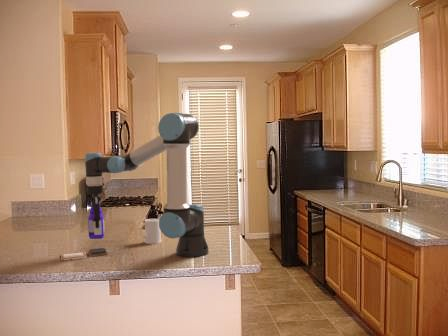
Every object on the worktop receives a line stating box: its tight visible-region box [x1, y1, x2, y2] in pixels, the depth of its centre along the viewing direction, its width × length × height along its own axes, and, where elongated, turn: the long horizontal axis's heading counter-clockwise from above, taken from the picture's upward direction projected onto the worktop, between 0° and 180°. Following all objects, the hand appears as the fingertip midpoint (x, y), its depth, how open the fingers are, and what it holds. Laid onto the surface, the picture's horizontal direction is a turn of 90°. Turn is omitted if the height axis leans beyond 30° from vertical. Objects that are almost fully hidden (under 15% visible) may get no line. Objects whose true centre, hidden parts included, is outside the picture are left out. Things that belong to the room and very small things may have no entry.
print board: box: [60, 251, 88, 261], centre depth 214 cm, size 11×11×1 cm
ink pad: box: [87, 247, 108, 258], centre depth 218 cm, size 9×8×2 cm
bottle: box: [87, 201, 105, 240], centre depth 217 cm, size 7×6×17 cm
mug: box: [139, 218, 162, 245], centre depth 239 cm, size 12×8×12 cm
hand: (96, 233), depth 217 cm, fingers closed on bottle, 6 cm apart
